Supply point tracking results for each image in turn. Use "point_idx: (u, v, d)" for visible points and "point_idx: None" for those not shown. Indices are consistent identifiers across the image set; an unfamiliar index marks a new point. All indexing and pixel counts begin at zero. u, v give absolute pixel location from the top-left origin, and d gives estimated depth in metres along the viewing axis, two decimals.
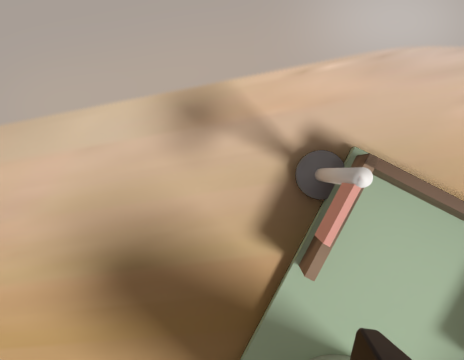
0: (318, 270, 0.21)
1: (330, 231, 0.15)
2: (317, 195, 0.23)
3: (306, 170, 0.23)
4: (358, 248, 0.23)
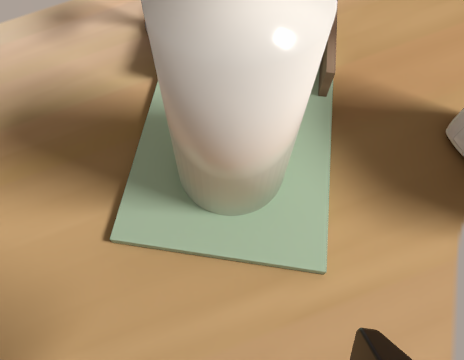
0: None
1: None
2: None
3: None
4: None
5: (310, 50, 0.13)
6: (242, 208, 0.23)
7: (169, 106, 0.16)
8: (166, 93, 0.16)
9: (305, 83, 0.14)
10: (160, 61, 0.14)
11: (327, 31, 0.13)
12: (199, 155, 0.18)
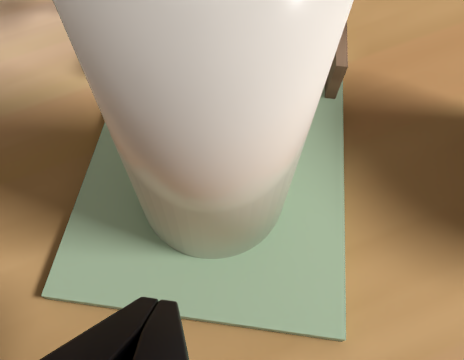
0: None
1: None
2: None
3: None
4: None
5: None
6: (227, 250, 0.16)
7: (98, 102, 0.10)
8: (88, 79, 0.09)
9: (322, 56, 0.08)
10: (62, 16, 0.08)
11: None
12: (154, 179, 0.12)
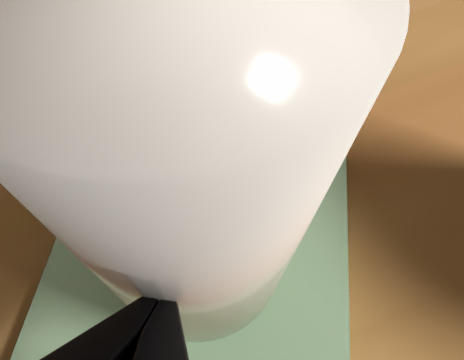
0: None
1: None
2: None
3: None
4: None
5: (350, 120, 0.04)
6: (214, 336, 0.14)
7: None
8: None
9: (327, 182, 0.06)
10: None
11: (392, 64, 0.05)
12: (118, 292, 0.09)
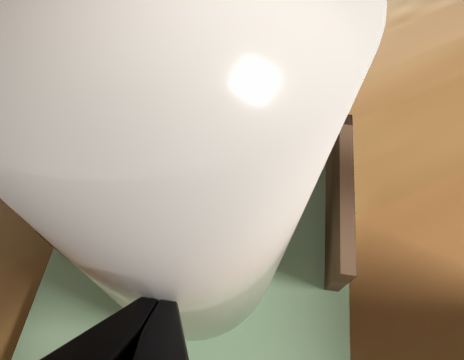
0: None
1: None
2: None
3: None
4: None
5: (330, 116, 0.04)
6: (208, 334, 0.14)
7: None
8: None
9: (312, 178, 0.06)
10: None
11: (370, 60, 0.05)
12: (110, 292, 0.09)
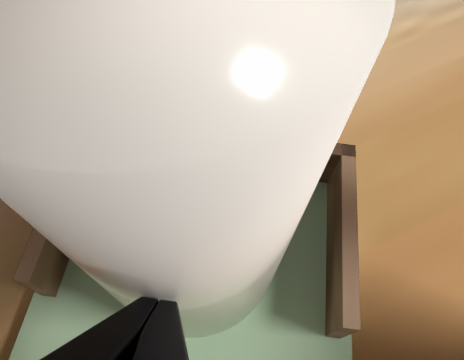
0: (34, 264, 0.14)
1: None
2: None
3: None
4: None
5: (337, 107, 0.04)
6: (209, 331, 0.14)
7: None
8: None
9: (316, 172, 0.06)
10: None
11: (379, 48, 0.05)
12: (109, 289, 0.09)
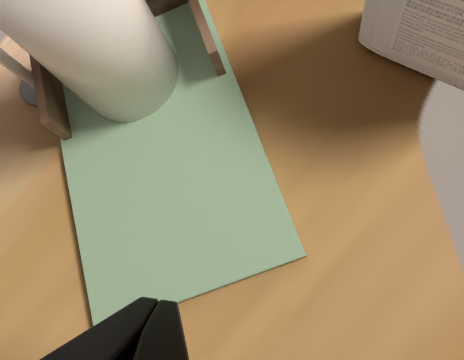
0: (46, 113, 0.24)
1: None
2: None
3: (27, 91, 0.29)
4: None
5: None
6: (152, 101, 0.25)
7: (11, 35, 0.18)
8: None
9: None
10: None
11: None
12: (69, 65, 0.20)
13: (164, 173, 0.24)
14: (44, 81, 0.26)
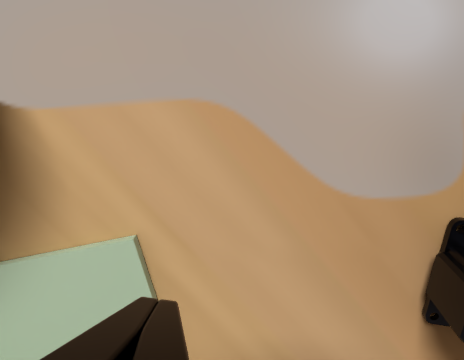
0: None
1: None
2: None
3: None
4: None
5: None
6: None
7: None
8: None
9: None
10: None
11: None
12: None
13: (50, 350, 0.25)
14: None
